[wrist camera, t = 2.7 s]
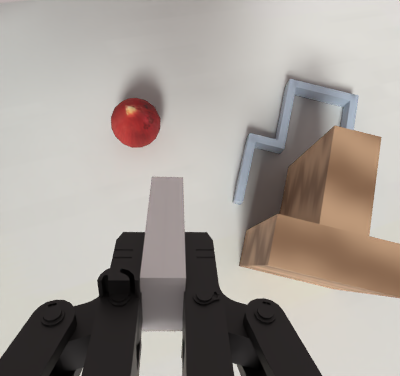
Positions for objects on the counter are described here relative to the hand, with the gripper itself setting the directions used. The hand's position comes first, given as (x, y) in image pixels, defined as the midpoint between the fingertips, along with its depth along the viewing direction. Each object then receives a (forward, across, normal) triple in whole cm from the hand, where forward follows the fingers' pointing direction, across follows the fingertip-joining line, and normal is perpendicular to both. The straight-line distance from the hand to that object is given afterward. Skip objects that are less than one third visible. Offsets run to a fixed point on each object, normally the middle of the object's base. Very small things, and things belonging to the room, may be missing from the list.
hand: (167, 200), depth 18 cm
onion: (+29, -4, -9) cm, 30 cm away
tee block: (+20, +16, -17) cm, 31 cm away
